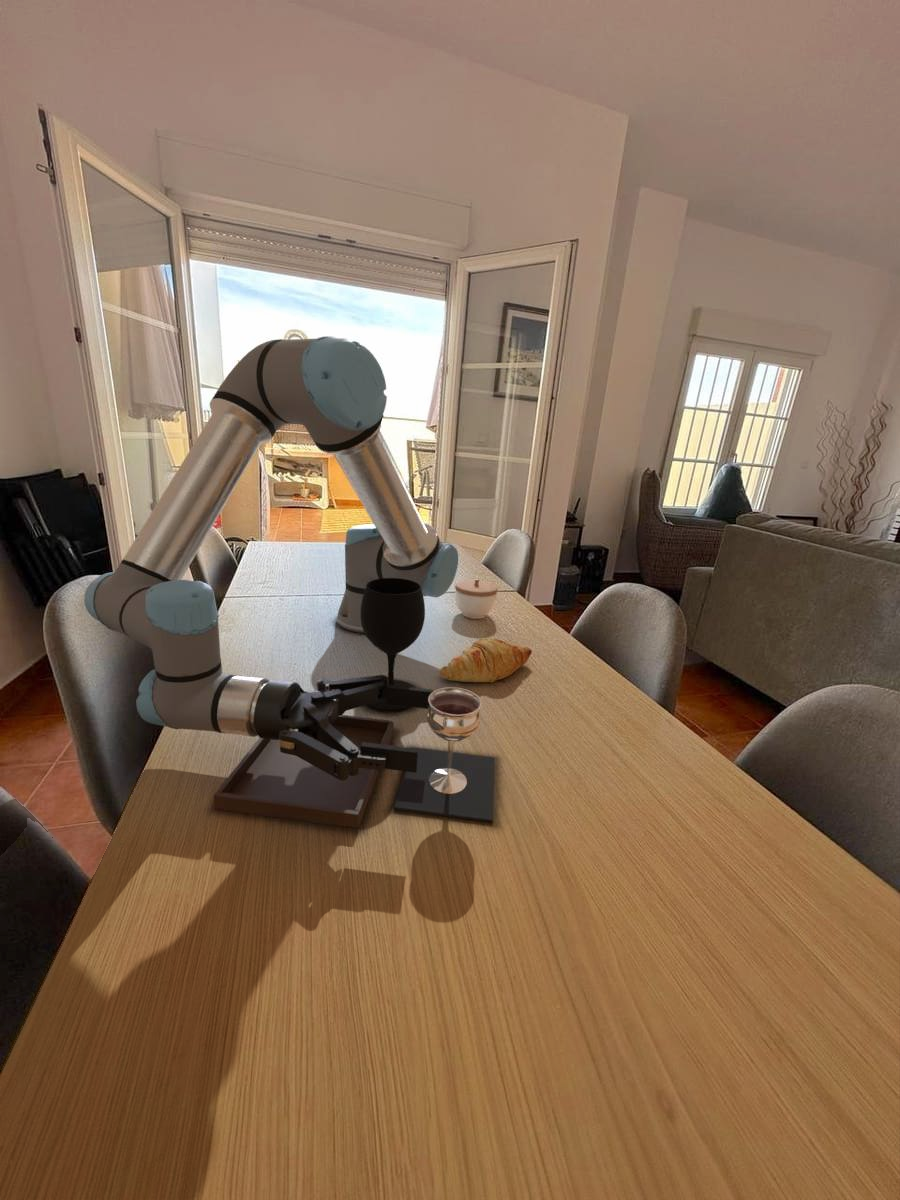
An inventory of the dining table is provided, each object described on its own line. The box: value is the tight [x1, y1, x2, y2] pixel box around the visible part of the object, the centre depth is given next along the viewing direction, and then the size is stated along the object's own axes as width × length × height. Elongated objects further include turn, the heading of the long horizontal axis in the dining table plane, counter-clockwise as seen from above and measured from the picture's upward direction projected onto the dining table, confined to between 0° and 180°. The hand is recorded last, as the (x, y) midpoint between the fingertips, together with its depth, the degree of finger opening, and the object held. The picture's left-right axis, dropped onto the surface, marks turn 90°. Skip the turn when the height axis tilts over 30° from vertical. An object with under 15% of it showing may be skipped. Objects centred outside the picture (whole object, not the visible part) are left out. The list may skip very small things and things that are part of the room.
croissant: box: [439, 637, 533, 683], centre depth 93 cm, size 21×10×8 cm, turn 123°
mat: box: [393, 746, 495, 824], centre depth 64 cm, size 12×12×1 cm
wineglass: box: [426, 686, 482, 794], centre depth 61 cm, size 7×7×12 cm
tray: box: [213, 714, 395, 829], centre depth 65 cm, size 19×17×2 cm
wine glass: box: [360, 578, 426, 713], centre depth 80 cm, size 10×10×20 cm
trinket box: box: [454, 578, 499, 619], centre depth 122 cm, size 11×11×9 cm
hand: (426, 727), depth 61 cm, fingers open, 13 cm apart
